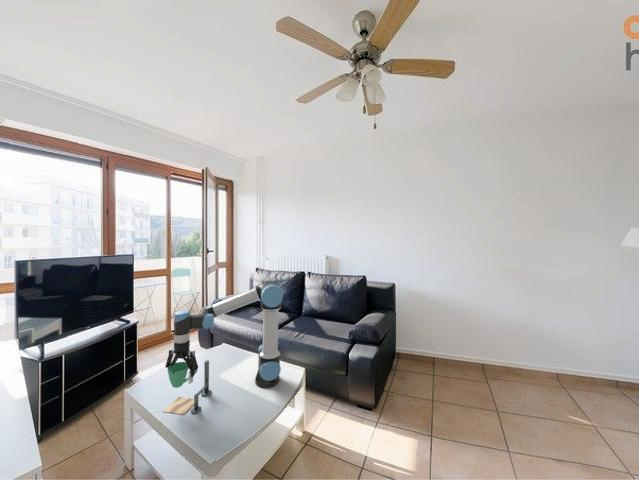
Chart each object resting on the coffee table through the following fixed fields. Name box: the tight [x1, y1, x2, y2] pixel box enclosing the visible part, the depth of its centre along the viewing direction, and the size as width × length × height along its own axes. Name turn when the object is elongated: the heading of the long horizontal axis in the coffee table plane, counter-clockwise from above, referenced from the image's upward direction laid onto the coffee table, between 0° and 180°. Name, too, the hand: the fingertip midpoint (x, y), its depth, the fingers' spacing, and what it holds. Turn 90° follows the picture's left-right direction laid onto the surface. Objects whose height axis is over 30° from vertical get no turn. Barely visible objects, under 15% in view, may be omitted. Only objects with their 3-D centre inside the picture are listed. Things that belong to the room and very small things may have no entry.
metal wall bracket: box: [190, 360, 213, 415], centre depth 143 cm, size 8×19×19 cm, turn 171°
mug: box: [167, 361, 198, 389], centre depth 139 cm, size 15×10×10 cm
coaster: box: [163, 396, 194, 416], centre depth 140 cm, size 12×12×1 cm
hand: (181, 381), depth 140 cm, fingers closed on mug, 10 cm apart
